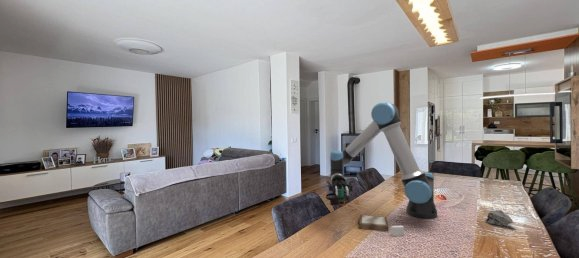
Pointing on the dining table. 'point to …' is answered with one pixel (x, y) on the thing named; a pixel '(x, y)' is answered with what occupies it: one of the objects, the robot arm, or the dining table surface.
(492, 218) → the mineral specimen
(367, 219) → the plinth
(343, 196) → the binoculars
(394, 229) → the price sign
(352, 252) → the dining table surface
